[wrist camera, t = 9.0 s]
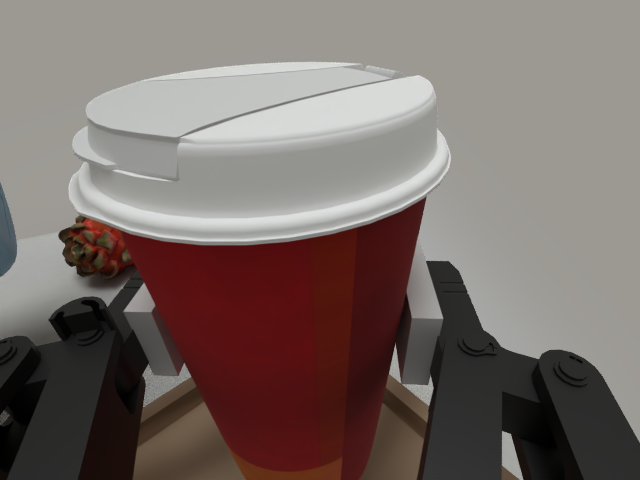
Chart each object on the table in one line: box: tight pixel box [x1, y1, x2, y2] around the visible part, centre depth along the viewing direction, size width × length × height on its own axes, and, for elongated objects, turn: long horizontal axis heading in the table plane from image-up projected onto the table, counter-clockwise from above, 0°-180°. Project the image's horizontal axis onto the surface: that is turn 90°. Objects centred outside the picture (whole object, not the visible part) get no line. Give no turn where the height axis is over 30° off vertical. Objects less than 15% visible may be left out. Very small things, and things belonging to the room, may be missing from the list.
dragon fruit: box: [59, 215, 135, 279], centre depth 41 cm, size 8×8×12 cm
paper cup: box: [68, 62, 451, 480], centre depth 11 cm, size 8×8×14 cm
